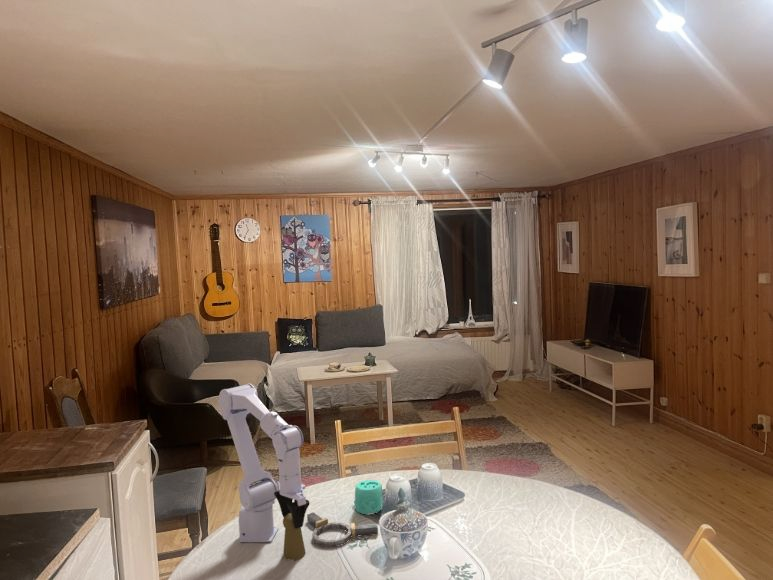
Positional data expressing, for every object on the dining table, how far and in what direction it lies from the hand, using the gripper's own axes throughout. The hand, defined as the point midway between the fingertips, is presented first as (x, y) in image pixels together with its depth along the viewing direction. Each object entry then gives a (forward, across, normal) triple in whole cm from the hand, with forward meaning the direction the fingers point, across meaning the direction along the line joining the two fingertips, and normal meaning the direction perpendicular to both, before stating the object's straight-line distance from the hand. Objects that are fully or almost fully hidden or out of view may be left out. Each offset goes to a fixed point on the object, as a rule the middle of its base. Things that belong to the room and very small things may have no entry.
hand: (292, 521), depth 152 cm
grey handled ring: (+9, +3, -16) cm, 18 cm away
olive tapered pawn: (+9, 0, 0) cm, 9 cm away
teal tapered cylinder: (+9, +10, -30) cm, 33 cm away
